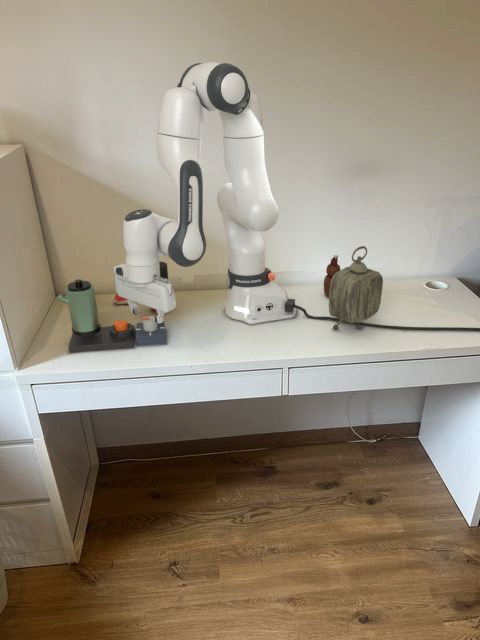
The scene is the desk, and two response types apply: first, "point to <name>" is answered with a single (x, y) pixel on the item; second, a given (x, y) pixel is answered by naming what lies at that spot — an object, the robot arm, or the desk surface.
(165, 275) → the deodorant
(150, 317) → the temp dial
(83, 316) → the kettle
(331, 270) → the wooden figurine
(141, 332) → the control pad
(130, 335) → the kettle base
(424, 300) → the desk surface
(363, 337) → the desk surface
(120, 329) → the power button
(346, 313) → the tabletop clock
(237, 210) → the robot arm
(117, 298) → the ladybug figurine
